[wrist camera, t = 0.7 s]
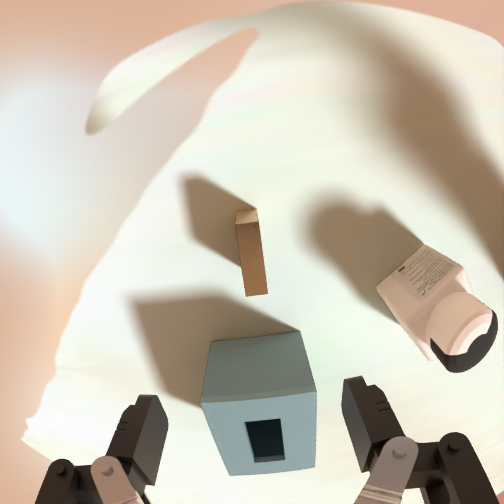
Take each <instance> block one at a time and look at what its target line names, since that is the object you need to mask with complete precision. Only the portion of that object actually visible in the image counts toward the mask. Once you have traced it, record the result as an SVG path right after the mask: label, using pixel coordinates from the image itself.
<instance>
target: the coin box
mask: <svg viewBox="0 0 504 504" xmlns="http://www.w3.org/2000/svg"><path fill="white" fill-rule="evenodd" d="M200 404H201V407H202V410H203V412H204V415H205V418H206V420H207V423H208V425H209V428H210V430H211V433H212V436H213V438H214V440H215V443H216V445H217V448H218V450H219V453H220V455H221V457H222V460H223V462H224V464H225V467H226V469H227V471H228V473H229V475H230V476H237V475H256V474H268V473H278V472H287V471H295V470H302V469H308V468H314V467H315V454H316V415H317V391H316V387H315V383H314V379H313V376H312V372H311V368H310V365H309V361H308V357H307V354H306V350H305V347H304V343H303V339H302V336H301V332H300V331H297V332H290V333H282V334H275V335H267V336H259V337H250V338H241V339H231V340H221V341H211V346H210V351H209V356H208V362H207V367H206V373H205V378H204V384H203V389H202V395H201V401H200Z"/></svg>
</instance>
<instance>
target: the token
mask: <svg viewBox="0 0 504 504" xmlns="http://www.w3.org/2000/svg"><path fill="white" fill-rule="evenodd" d="M235 229H236V236H237V242H238V249H239V256H240V262H241V269H242V275H243V281H244V288H245V294H246V297H247V296H255V295H263V294H268V290H267V282H266V274H265V266H264V258H263V251H262V243H261V235H260V227H259V220H258V214H257V209H249V210H242V211H237V216H236V221H235Z"/></svg>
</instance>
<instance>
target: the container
mask: <svg viewBox="0 0 504 504" xmlns="http://www.w3.org/2000/svg"><path fill="white" fill-rule="evenodd" d="M376 289H377V291H378V293H379V294H380V296H381V297H382V298H383V300H384V301H385V303H386V304H387V306H388V307H389V309H390V310H391V312H392V313H393V315H394V316H395V318H396V319H397V321H398V322H399V324H400V325H401V327H402V328H403V329H404V331H405V332H406V333H407V334H408V335H409V337H410V338H411V339H412V341H413V342H414V343H415V344H416V346H417V347H418V348H419V349H420V351H421V352H422V353H423V355H424V356H425V357H426V358H427V360H428V361H432V360H434V359H435V358H436V357H437V358H438V359H439V360H440V361H441V363H442V364H443V365H444V366H445V368H446V369H447V370H448V371H450V372H453V373H460V372H464V371H467V370H469V369H471V368H472V367H474V366H475V365H476V364H478V363H479V362H480V361H481V360H482V359H483V358H484V356H485V355H486V354H487V353H488V351H489V350H490V348H491V346H492V345H493V343H494V340H495V338H496V335H497V330H498V320H497V316H496V313H495V312H494V311H493V310H491V309H490V308H489V307H488V306H486V305H485V304H484V303H482V302H481V301H480V300H478V299H477V298H476V297H475V296H474V293H473V291H472V288H471V285H470V283H469V280H468V277H467V275H466V272H465V270H464V268H463V267H462V266H461V265H460V264H458V263H456V262H455V261H453V260H451V259H450V258H448V257H446V256H445V255H443V254H441V253H439V252H438V251H436V250H434V249H433V248H431V247H429V246H427V245H422V246H421V247H420V248H419V249H418V250H417V251H416V252H415V253H414V254H413V255H412V256H410V257H409V258H408V259H407V260H406V261H405V262H404V263H403V264H402V265H400V266H399V267H398V268H397V269H396V270H395V271H394V272H393V273H391V274H390V275H389V276H388V277H387V278H386V279H384V280H383V281H382V282H381V283H380V284H379V285H377V287H376Z"/></svg>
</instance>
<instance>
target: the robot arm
mask: <svg viewBox="0 0 504 504" xmlns="http://www.w3.org/2000/svg"><path fill="white" fill-rule="evenodd" d="M341 405H342V413H343V417H344V420H345V423H346V426H347V429H348V432H349V435H350V438H351V441H352V444H353V447H354V450H355V454H356V457H357V460H358V463H359V466H360V470H361V473H363V472H367V471H369V472H370V476H369V478H368V480H367V482H366V484H365V486H364V488H363V489H362V490H361V492H360V494H359V496H358V497H357V499H356V501H355V503H354V504H400V503H401V500H402V494H403V492H404V489H412V488H420V490H421V493H422V497H423V500H424V503H425V504H499V502H498V499H497V497H496V495H495V493H494V490H493V488H492V486H491V484H490V481H489V479H488V477H487V475H486V473H485V471H484V469H483V467H482V465H481V463H480V461H479V459H478V457H477V455H476V453H475V451H474V449H473V447H472V445H471V443H470V441H469V439H468V438H467V437H466V436H465V435H464V434H462V433H458V432H452V433H448V434H446V435H445V436H443V437H442V438H441V440H440V441H439V442H430V443H417V442H415V441H414V440H412V439H411V438H408V437H406V436H405V434H404V432H403V430H402V428H401V426H400V424H399V422H398V420H397V418H396V416H395V414H394V412H393V410H392V409H391V406H390V404H389V402H388V401H387V398H386V396H385V394H384V392H383V391H382V390H381V389H380V388H378V387H377V386H376V385H375V384H374V385H370V386H367V385H366V383H365V381H364V379H363V377H362V376H357V377H353V378H348V379H344V383H343V393H342V403H341ZM119 422H120V423H118V426H117V430H116V431H115V433H114V436H113V438H112V441H111V443H110V446H109V448H108V451H107V453H106V455H105V456H103V457H100V458H98V459H96V460H95V461H94V462H93V464H92V465H84V466H74V465H73V464H72V463H71V462H70V461H69V460H67V459H58V460H55V461H54V462H53V463H51V465H50V466H49V468H48V471H47V474H46V476H45V478H44V481H43V483H42V486H41V488H40V491H39V494H38V496H37V499H36V502H35V504H152V502H151V501H150V499H149V497H148V496H147V494H146V492H145V491H144V490H145V486H146V485H153V486H155V481H156V477H157V473H158V468H159V464H160V460H161V456H162V452H163V447H164V443H165V439H166V435H167V431H168V418H167V416H166V413H165V411H164V409H163V407H162V405H161V402H160V400H159V398H158V396H157V395H139V396H138V399H137V401H136V404H135V405H130V406H129V407H128V408H127V409H126V410H125V411H124V412H123V414H122V416H121V418H120V421H119Z"/></svg>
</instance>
